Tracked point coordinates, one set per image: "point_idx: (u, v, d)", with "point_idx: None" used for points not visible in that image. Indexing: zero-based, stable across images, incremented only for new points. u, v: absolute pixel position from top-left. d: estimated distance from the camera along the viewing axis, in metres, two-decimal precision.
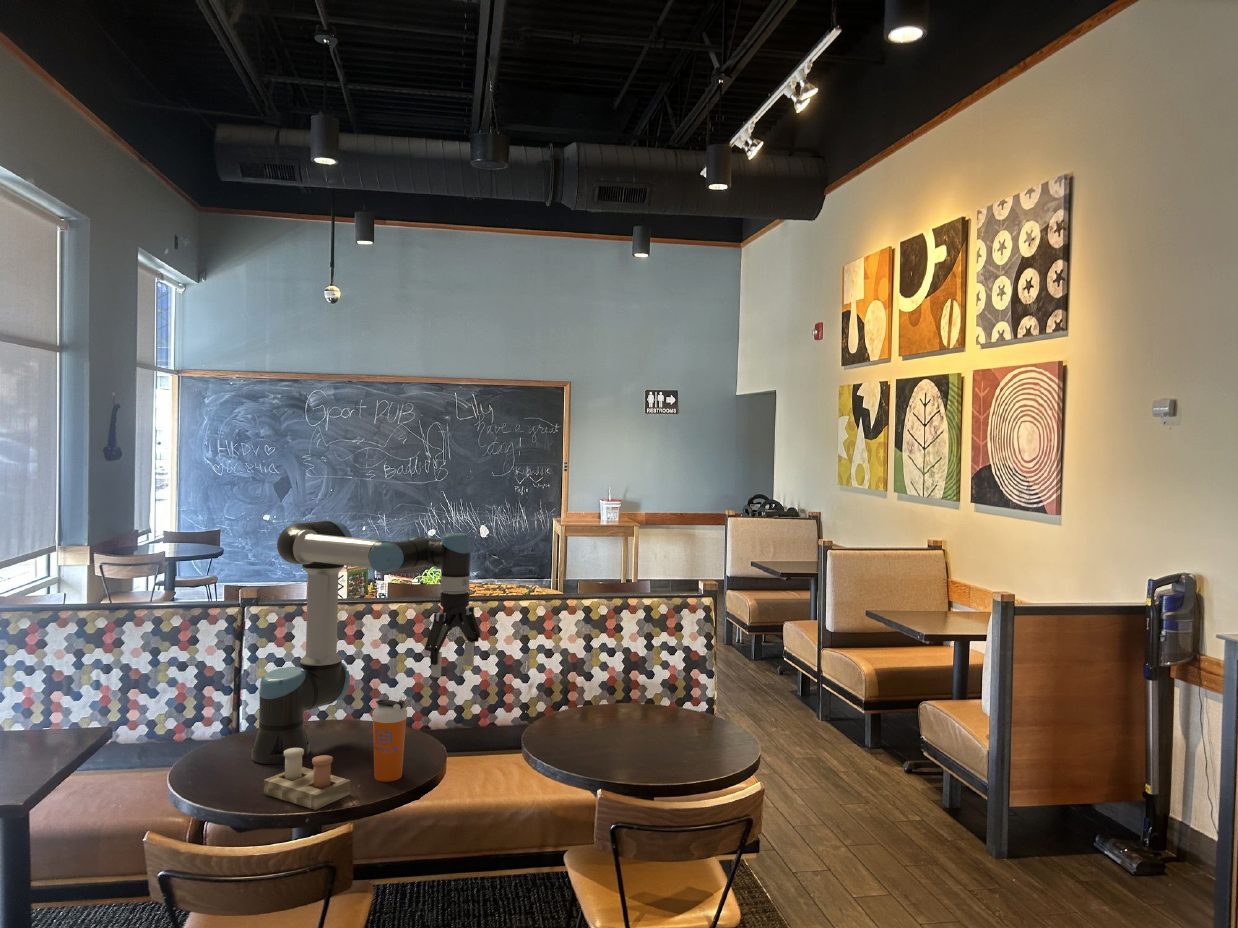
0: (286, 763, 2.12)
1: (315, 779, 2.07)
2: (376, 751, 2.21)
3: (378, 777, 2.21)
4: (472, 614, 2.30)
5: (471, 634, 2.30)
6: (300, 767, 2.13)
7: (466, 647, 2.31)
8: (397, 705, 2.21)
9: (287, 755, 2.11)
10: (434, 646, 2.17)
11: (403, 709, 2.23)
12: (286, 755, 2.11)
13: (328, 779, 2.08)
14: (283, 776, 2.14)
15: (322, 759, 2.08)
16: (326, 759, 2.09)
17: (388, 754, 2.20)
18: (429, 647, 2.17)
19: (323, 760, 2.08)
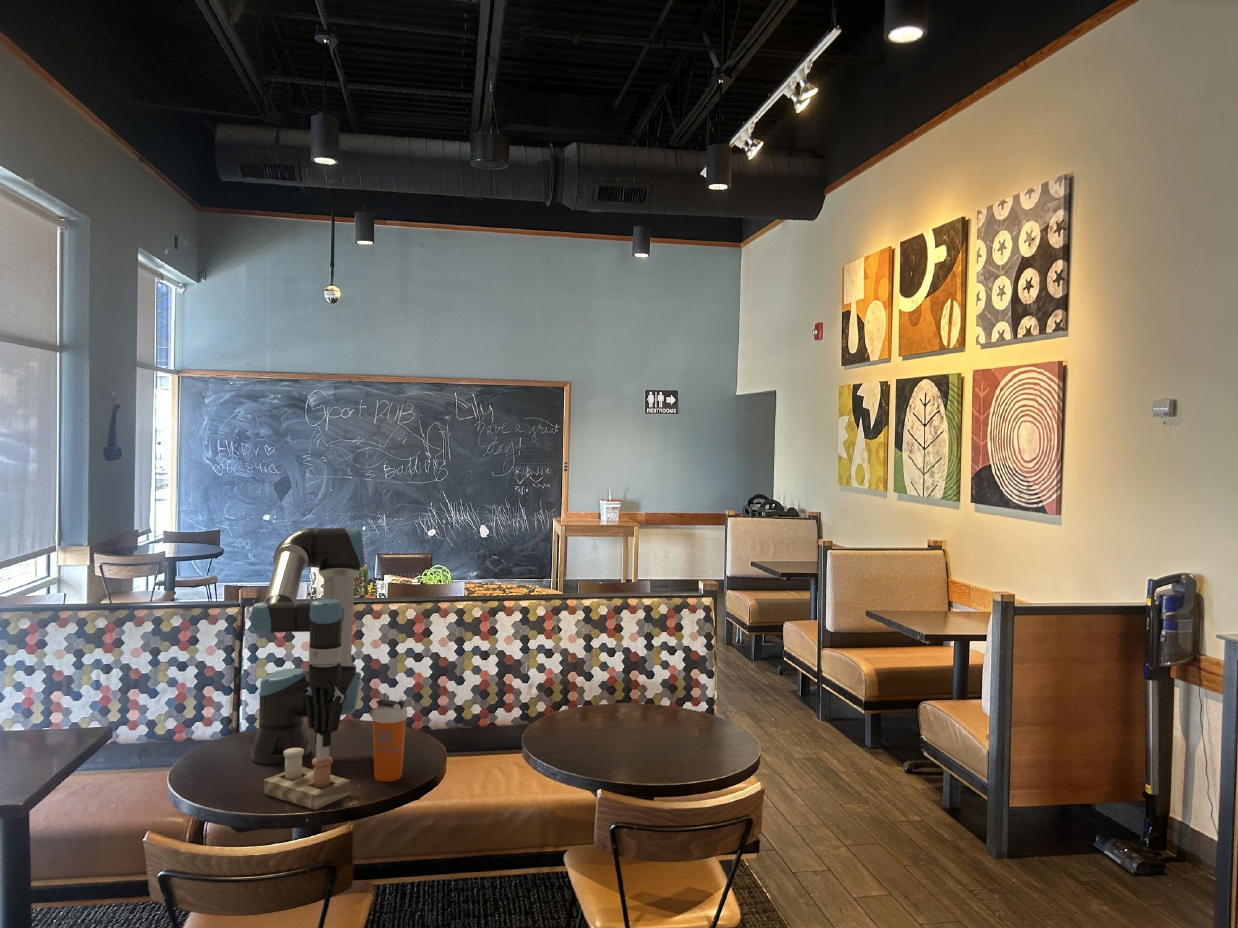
0: (286, 763, 2.12)
1: (315, 780, 2.07)
2: (376, 751, 2.21)
3: (378, 777, 2.21)
4: (334, 703, 2.05)
5: (322, 722, 2.07)
6: (300, 767, 2.13)
7: None
8: (397, 705, 2.21)
9: (287, 755, 2.11)
10: (310, 723, 2.09)
11: (403, 709, 2.23)
12: (286, 755, 2.11)
13: (328, 780, 2.08)
14: (283, 776, 2.14)
15: (322, 760, 2.08)
16: (326, 759, 2.09)
17: (388, 754, 2.20)
18: None
19: (323, 761, 2.08)
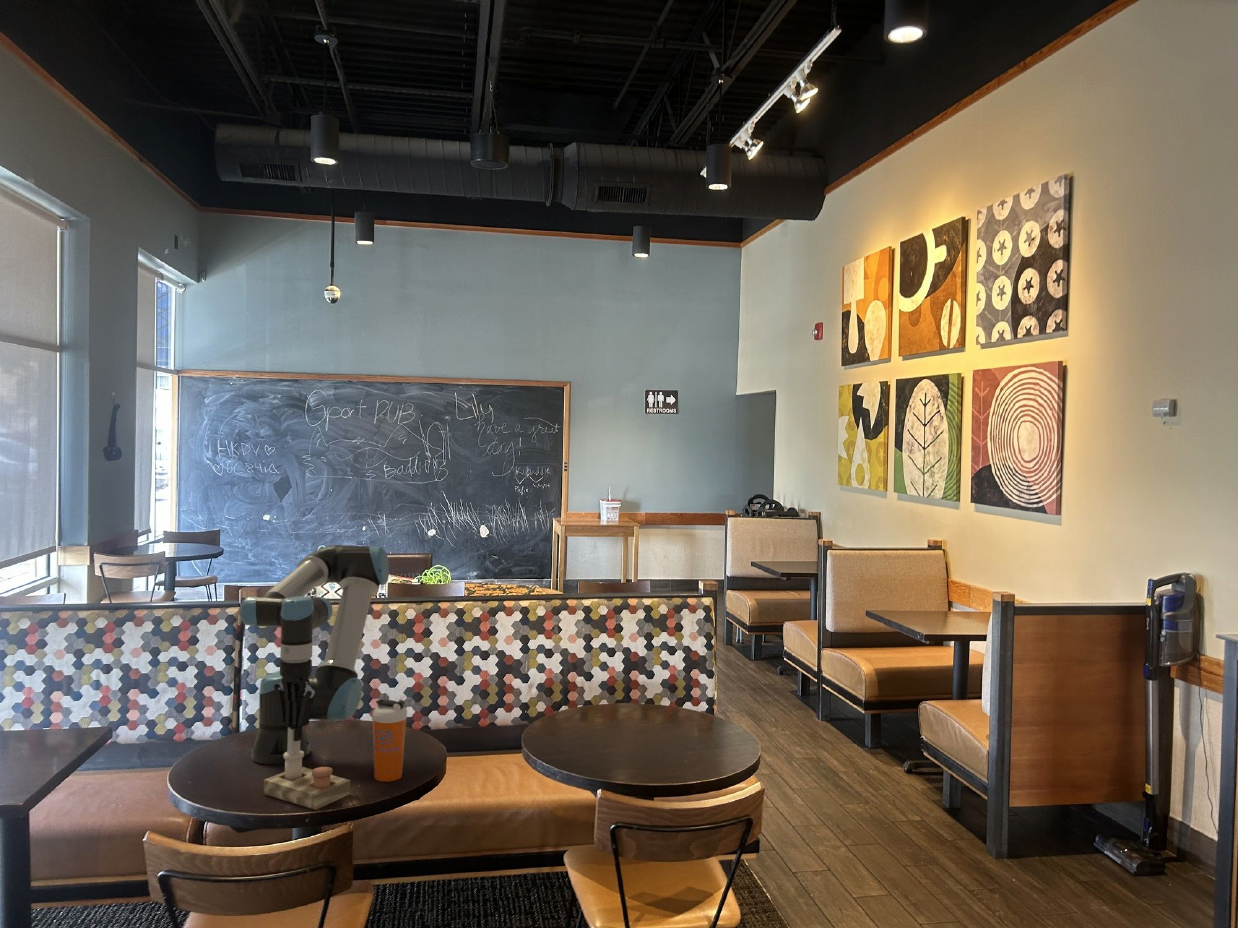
0: (286, 765, 2.12)
1: None
2: (376, 751, 2.21)
3: (378, 777, 2.21)
4: (304, 697, 2.10)
5: (293, 716, 2.12)
6: (300, 769, 2.13)
7: None
8: (397, 705, 2.21)
9: (287, 757, 2.11)
10: (281, 718, 2.14)
11: (403, 709, 2.23)
12: (286, 757, 2.11)
13: None
14: (283, 776, 2.14)
15: (322, 771, 2.08)
16: (326, 770, 2.09)
17: (388, 754, 2.20)
18: None
19: (323, 772, 2.08)
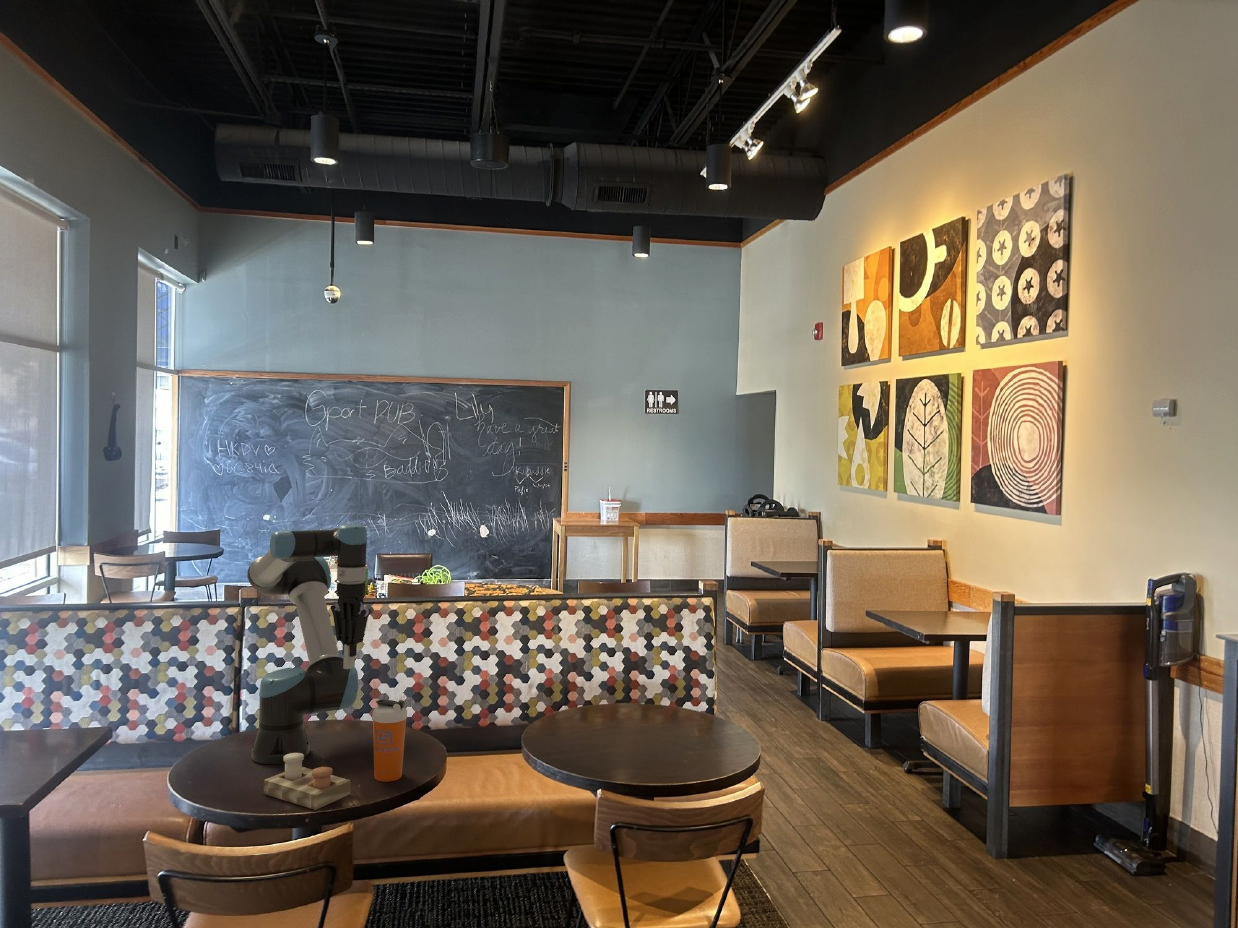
0: (286, 768, 2.12)
1: None
2: (376, 751, 2.21)
3: (378, 777, 2.21)
4: (360, 616, 2.28)
5: (349, 634, 2.30)
6: (300, 772, 2.13)
7: None
8: (397, 705, 2.21)
9: (287, 760, 2.11)
10: (337, 636, 2.32)
11: (403, 709, 2.23)
12: (286, 760, 2.11)
13: None
14: (283, 776, 2.14)
15: (322, 771, 2.08)
16: (326, 770, 2.09)
17: (388, 754, 2.20)
18: None
19: (323, 772, 2.08)
